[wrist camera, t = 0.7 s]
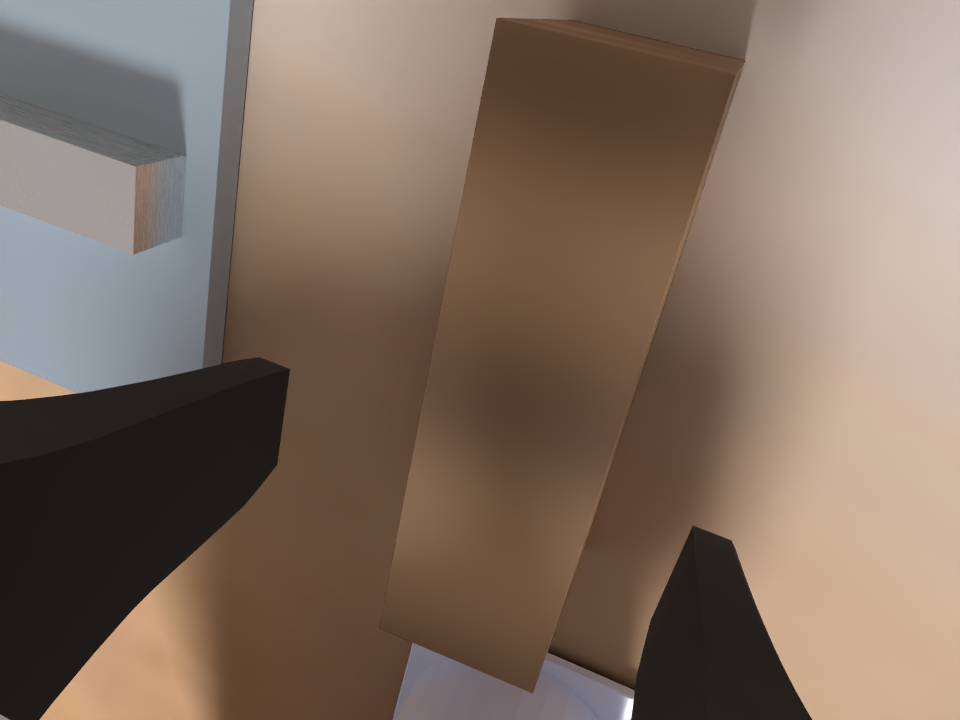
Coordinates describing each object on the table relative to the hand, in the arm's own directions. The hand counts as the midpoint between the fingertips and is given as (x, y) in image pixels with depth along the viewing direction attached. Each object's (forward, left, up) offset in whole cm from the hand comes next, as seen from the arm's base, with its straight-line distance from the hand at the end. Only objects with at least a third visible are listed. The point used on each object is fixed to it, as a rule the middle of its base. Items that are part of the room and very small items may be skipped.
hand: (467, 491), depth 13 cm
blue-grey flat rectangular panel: (0, +15, -9) cm, 17 cm away
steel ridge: (0, +15, -9) cm, 17 cm away
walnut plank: (0, 0, -9) cm, 9 cm away
